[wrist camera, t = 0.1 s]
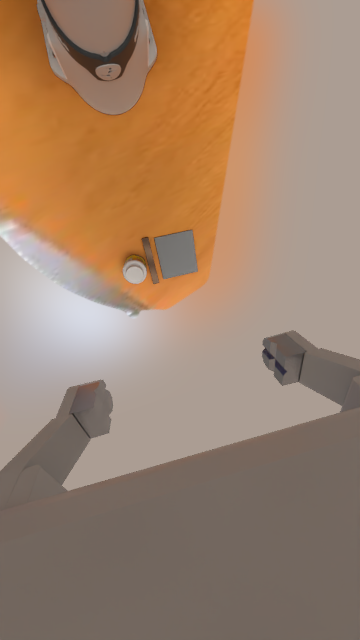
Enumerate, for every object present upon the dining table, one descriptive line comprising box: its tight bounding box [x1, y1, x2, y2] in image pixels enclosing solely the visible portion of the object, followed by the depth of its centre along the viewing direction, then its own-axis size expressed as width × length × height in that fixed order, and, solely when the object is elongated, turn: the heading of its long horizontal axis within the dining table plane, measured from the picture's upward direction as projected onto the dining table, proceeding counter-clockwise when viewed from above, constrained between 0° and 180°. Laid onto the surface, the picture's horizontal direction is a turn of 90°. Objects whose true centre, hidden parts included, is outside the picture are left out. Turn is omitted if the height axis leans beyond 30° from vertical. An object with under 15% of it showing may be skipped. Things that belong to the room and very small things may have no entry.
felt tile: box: [154, 230, 198, 279], centre depth 54 cm, size 11×10×1 cm
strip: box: [142, 237, 159, 284], centre depth 53 cm, size 12×2×1 cm, turn 10°
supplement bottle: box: [123, 255, 147, 284], centre depth 49 cm, size 6×6×10 cm
